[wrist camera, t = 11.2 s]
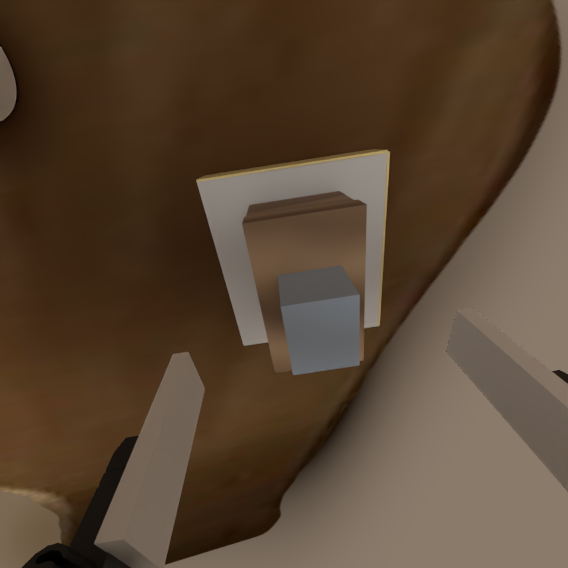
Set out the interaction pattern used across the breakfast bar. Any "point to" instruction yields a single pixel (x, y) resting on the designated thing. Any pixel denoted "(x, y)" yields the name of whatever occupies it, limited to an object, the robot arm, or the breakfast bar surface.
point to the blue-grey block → (320, 319)
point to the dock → (285, 185)
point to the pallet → (303, 252)
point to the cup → (6, 87)
